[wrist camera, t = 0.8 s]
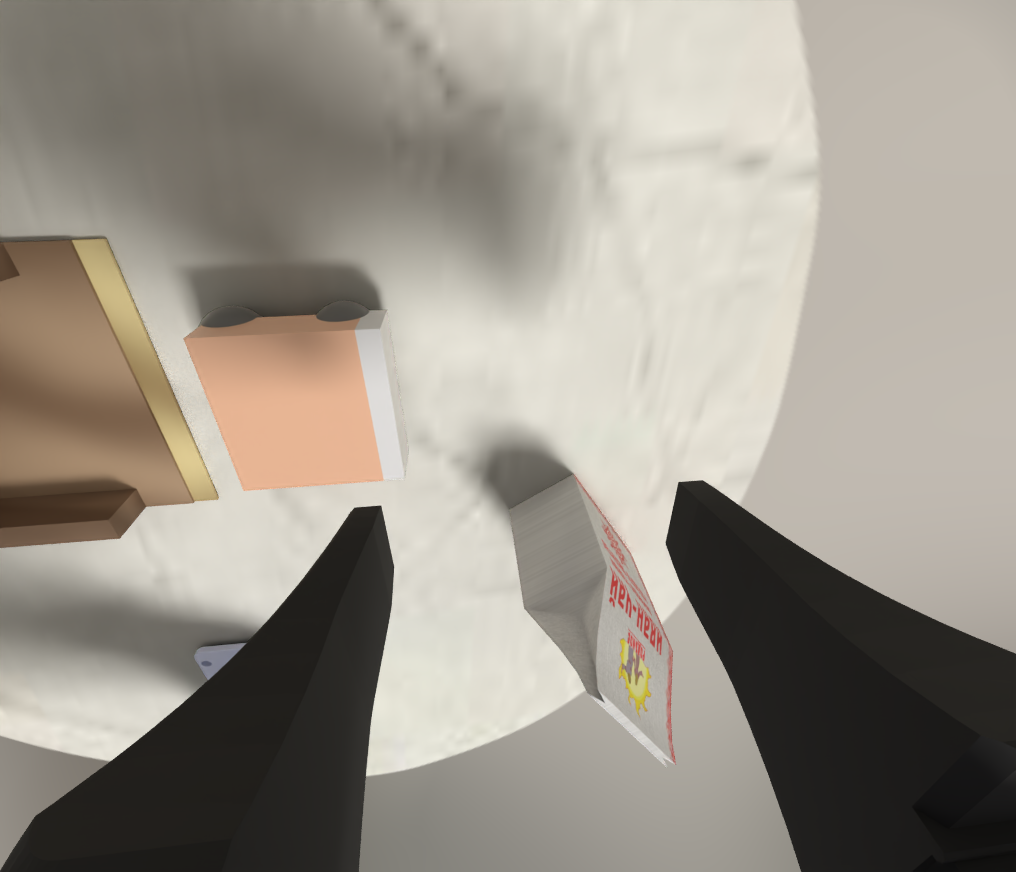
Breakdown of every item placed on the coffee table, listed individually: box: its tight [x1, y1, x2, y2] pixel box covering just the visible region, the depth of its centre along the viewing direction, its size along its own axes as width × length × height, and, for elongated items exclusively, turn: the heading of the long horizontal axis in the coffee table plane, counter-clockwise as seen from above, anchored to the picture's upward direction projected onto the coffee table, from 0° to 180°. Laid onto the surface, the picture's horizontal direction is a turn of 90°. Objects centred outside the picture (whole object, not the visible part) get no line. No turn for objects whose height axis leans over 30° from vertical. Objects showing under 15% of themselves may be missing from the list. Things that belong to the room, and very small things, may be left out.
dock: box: [0, 239, 219, 548], centre depth 17 cm, size 11×10×2 cm
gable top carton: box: [509, 474, 676, 767], centre depth 21 cm, size 4×7×10 cm, turn 33°
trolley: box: [183, 301, 409, 491], centre depth 18 cm, size 7×6×3 cm
